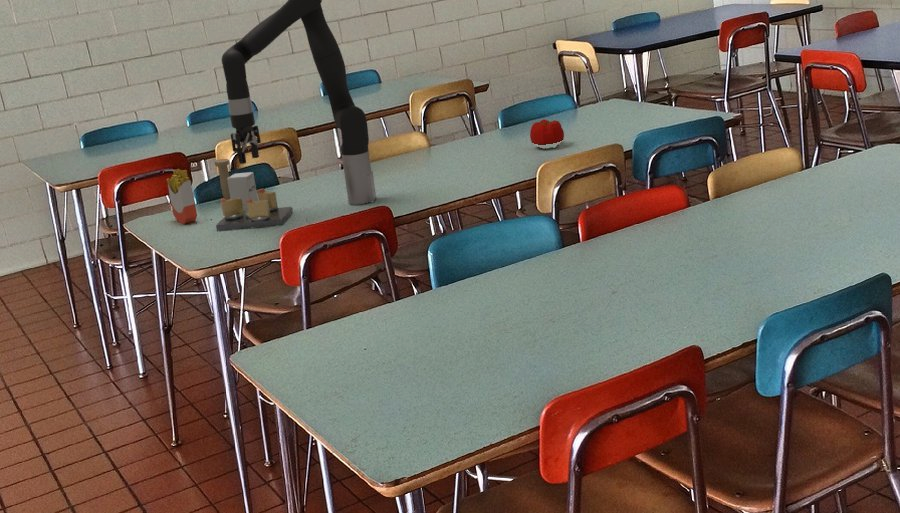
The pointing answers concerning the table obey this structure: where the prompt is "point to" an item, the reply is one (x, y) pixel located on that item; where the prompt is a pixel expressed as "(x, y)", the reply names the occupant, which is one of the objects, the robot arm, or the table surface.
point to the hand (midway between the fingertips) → (249, 160)
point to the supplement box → (243, 187)
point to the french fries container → (182, 197)
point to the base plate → (245, 222)
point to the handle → (223, 176)
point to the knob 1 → (232, 208)
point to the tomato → (546, 132)
